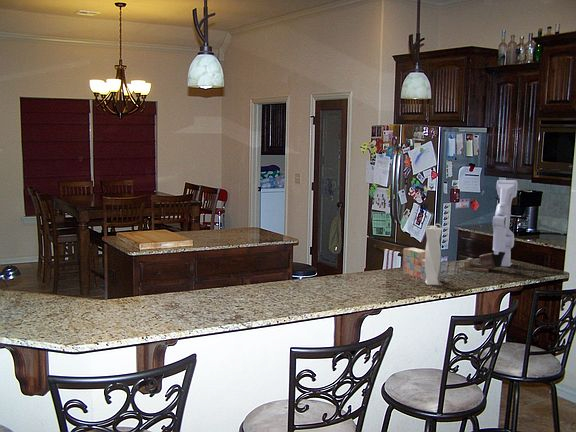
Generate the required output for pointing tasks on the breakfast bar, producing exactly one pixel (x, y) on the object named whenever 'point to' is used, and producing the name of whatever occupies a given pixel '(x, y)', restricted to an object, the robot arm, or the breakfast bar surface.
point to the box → (487, 261)
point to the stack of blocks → (414, 262)
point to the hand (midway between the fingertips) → (498, 266)
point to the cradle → (470, 263)
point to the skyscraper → (433, 255)
